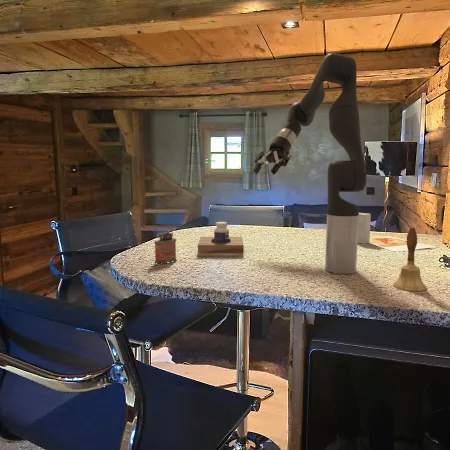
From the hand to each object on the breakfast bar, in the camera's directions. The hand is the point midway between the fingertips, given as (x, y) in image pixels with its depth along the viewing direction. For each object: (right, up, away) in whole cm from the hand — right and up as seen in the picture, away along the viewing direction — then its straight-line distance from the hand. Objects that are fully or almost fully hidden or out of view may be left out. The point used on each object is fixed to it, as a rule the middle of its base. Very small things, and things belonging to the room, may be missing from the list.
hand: (263, 172), depth 161 cm
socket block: (-16, -30, -4) cm, 34 cm away
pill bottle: (-16, -29, -4) cm, 33 cm away
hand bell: (+35, -37, -47) cm, 69 cm away
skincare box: (+41, -27, +14) cm, 51 cm away
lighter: (-34, -32, -20) cm, 51 cm away
